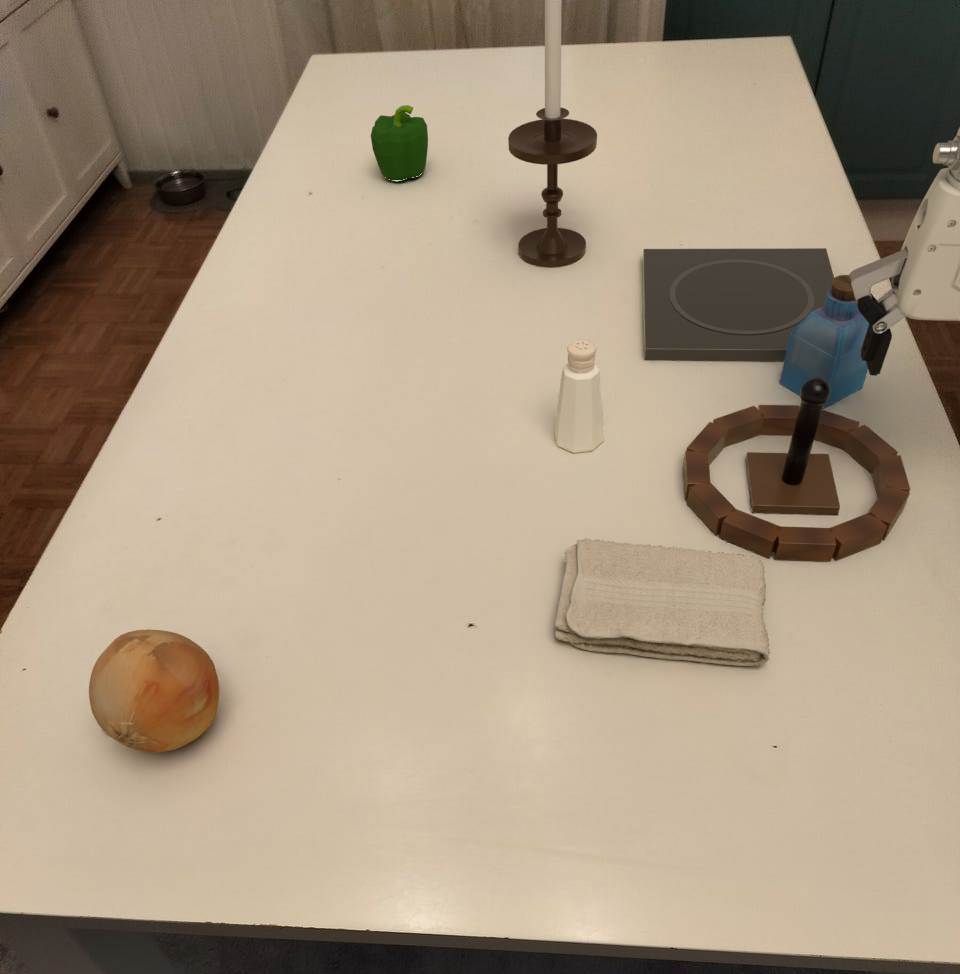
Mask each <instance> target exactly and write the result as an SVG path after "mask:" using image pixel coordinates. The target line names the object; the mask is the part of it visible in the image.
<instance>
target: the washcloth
mask: <svg viewBox="0 0 960 974" xmlns="http://www.w3.org/2000/svg"><path fill="white" fill-rule="evenodd" d="M564 555H565V560H566V561H565V569H564V575H563V579H562V585H561V590H560V597H559V602H558V608H557V613H556V618H555V621H554V628H555V633H554V634H555V639H556V640H558V641H563V642H564V643H566V642H568V643H569V644H570V645H571V646H573V647H575V648H577V649H581V650H584V651H587V652H588V651H590V652H593V653H594V652H595V653H596V652H597V653H608V654H628V655H634V656H641V657H646V658H655V659H663V660H679V661H689V662H696V663H697V662H698V663H705V664H706V663H707V664H713V665H715V664H716V665H725V666H737V667H738V666H739V667H755V666H756V667H757V666H762V665H764V664H766V663H767V662H768V661H769V660H770V653H771V651H770V644H769V634H768V630H767V628H766V623H765V621H764V605H765V602H766V601H767V598H766V590H767V583H766V577H765V573H766V572H765V565H764V564H765V563H764V561H763V560H762V559H760V558H759V557H756V556H754V555H752V554H751V555H744V554H740V553H738V554H737V553H732V552H731V553H729V552H724V551H723V552H712V551H711V550H709V551H705V550H698V549H697V550H696V549H693V548H692V549H691V548H682V547H676V546H673V547H671V546H669V547H668V546H663V545H651V544H642V543H639V544H633V543H628V542H615V541H610V540H603V539H602V540H601V539H596V538H595V539H590V538H583V539H578V540H576V544H573V545H571V546H570V547H568V548H566V550H565V552H564Z"/></svg>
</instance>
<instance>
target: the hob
mask: <svg viewBox="0 0 960 974" xmlns="http://www.w3.org/2000/svg"><path fill="white" fill-rule="evenodd" d="M833 278H835V276H834V271H833V269H832V264H831V260H830V257H829V253H828V249H827V248H825V247H824V248H819V247H818V248H815V247H814V248H808V247H807V248H806V247H805V248H803V247H802V248H801V247H800V248H796V247H795V248H643V251H642V302H643V303H642V304H643V305H642V306H643V350H644V351H643V356H644V359H643V360H644V361H706V362H707V361H713V362H718V361H721V362H723V361H724V362H725V361H726V362H784V360H785V356H786V351H787V347H788V343H789V338H790V334H791V332H792V331H793V330H794V329H795V328H796V327H797V326H798V325H799V324H800V323H801V322H802V321H803V320H804V319H805V318H806V317H807V316H808V315H809V314H810V313H811V312H812V311H815V310H817V309H819V308H821V307H823V306H825V305H826V304H825V300H826V296H827V292H828V290H829V289H830V288H832V280H833Z"/></svg>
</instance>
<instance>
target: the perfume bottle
mask: <svg viewBox="0 0 960 974" xmlns="http://www.w3.org/2000/svg"><path fill="white" fill-rule="evenodd" d="M849 275H850V274H840V275H837V276H834V278H833V280H832V288H830V289H829V290H828V292H827V296H826V300H825V304H826V305H825V306H823V307H821V308H819V309H817V310H815V311H812V312H811V313H810V314H809V315H808V316H807V317H806V318H805V319H804V320H803V321H802V322H801V323H800V324H799V325H798V326H797V327H796V328H795V329H794V330H793V331H792V332H791V334H790V338H789V343H788V347H787V351H786V356H785V360H784V361H783V365H782V368H781V369H782V370H781V374H780V378H779V382H778V383H779V384H780V385H781V386H783V387H785V388H786V389H788V390H790V391H791V392H793V393H795V394H796V395H797V396H799V397H800V389H801V387H802V385H803V384H804V383H805V382H806V381H807V380H808V379H810V378H813V377H820V378H823V379H825V380H826V381H827V382H828V383H829V385H830V388H831V394H830V397H829V399H828V400H827V402H826V403H824V406H823V410H825V409H826V408H828V407H830V406H831V405H833V404H836V403H837V402H839V401H841V400H843V399H845V398H846V397H849V396H850V395H852V394H854V393H856V392H858V391H860V390H861V389H863V387H864V385H865V382H866V381H865V380H866V377H867V374H868V372H869V370H868V367H867V364H866V361H862V358H861V349H862V345H863V342H864V339H865V336H866V333H867V329H868V326H869V323H868V321H867V320H866V319H865V318H864V316H863V315H862V314H861V313H860V312H859V310H858V307H857V304H856V300H855V297H854V293H853V289H852V286H851V282H850V279H849Z"/></svg>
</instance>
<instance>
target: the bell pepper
mask: <svg viewBox="0 0 960 974" xmlns="http://www.w3.org/2000/svg"><path fill="white" fill-rule="evenodd" d="M413 111H414V107H413V106H411V105H408V104H407V105H406V104H405V105H401V106H399V107H398V108H397V109H396V110H395V112H394V114H393V115H379V116H378V117H377V119H376V120H375V121H374V124H373V126H372V128H371V133H370V140H371V146H372V152H373V155H374V157H375V160H376V163H377V166H378V168H379V171H380V174H381V175H382V176H383V177H384V178H385V177H386V178H387V179H390V180H403V179H406V178H412V177H416V176H419V175H420V174H421V173H422V174H423V173H424V172H425V170H426V164H427V159H428V158H427V157H428V150H429V149H428V148H429V132H428V125H427V123H426V121H425V118H424V117H421V116H411V115H412V114H413V113H412V112H413ZM386 178H385V179H386ZM387 179H386V180H387ZM406 180H407V179H406Z"/></svg>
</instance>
